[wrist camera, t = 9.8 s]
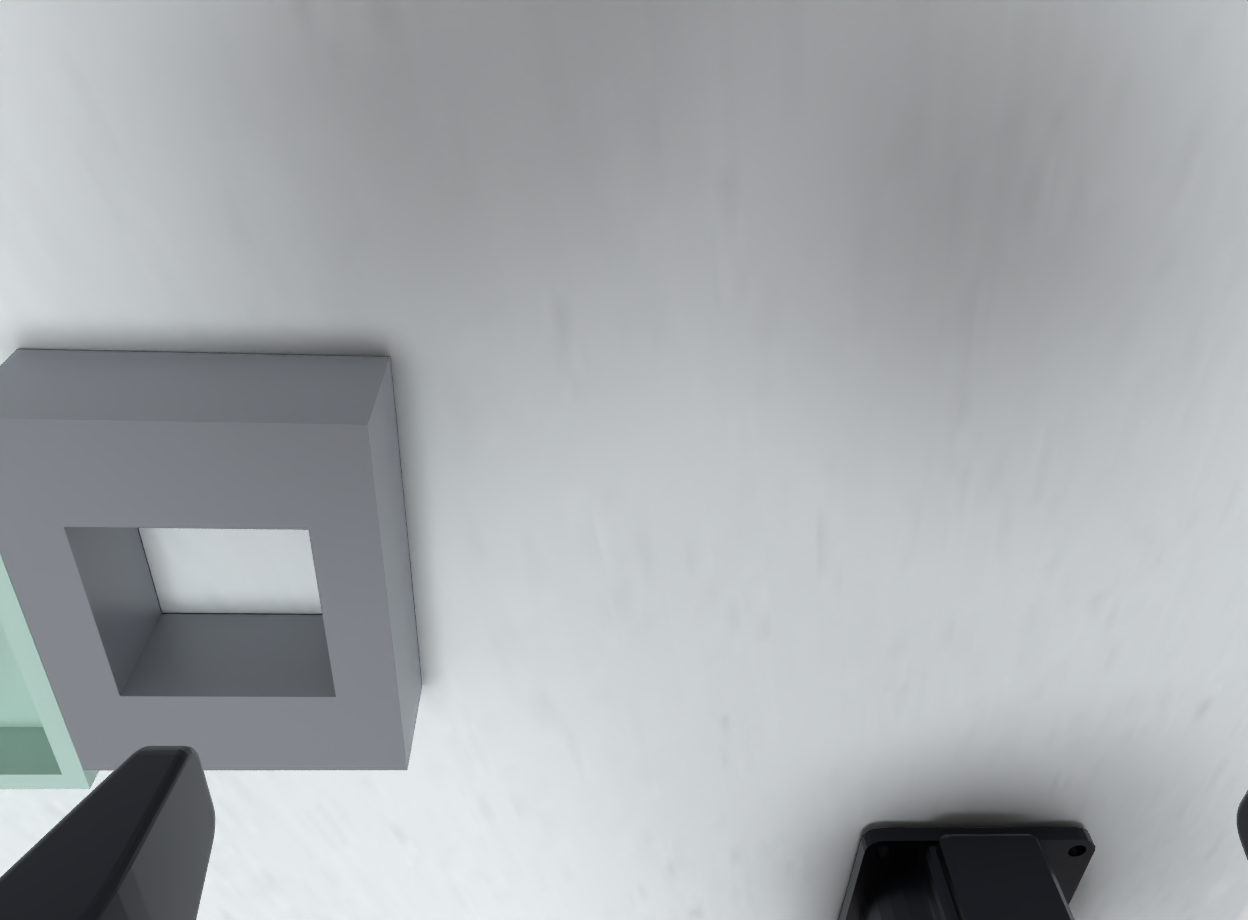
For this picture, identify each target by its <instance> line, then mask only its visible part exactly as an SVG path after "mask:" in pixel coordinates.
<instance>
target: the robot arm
mask: <svg viewBox="0 0 1248 920" xmlns="http://www.w3.org/2000/svg"><path fill="white" fill-rule="evenodd" d="M1237 828H1238V834H1239V837H1240V840H1241V843H1242V846H1243V848H1244V851H1245V854H1246V857H1247V859H1248V791H1247V792H1246V794H1245V796H1244V798H1243V799H1242V801H1241V803H1240V805H1239V807H1238V812H1237ZM214 832H215V811H214V807H213V803H212V799H211V796H210V792H209V789H208V785H207V782H206V778H205V775H204V771H203V767H202V764H201V760H200V757H199V755H198V753H197V752H196V751H195V749H193V748H192V747H189V746H146V747H143V748H141V749H139V750H137V751H135V752H134V753H133V754H132V755H130V756H129V757H128V758H127V759H126V760H125V761H124V762H123V763H122V764H121V765H120V766H119V767H118V768H116V769H115V770H114V771H113V772H112V773H111V774H110V775H109V776H108V777H107V778H106V779H105V780H104V781H103V782H102V783H101V784H99V785H98V786H97V787H96V788H95V789H94V790H93V791H92V792H91V793H90V794H89V795H88V796H87V797H86V798H85V799H83V800H82V801H81V802H80V803H79V804H78V805H77V806H76V807H75V808H74V809H73V810H72V811H71V812H70V813H69V814H68V815H66V816H65V817H64V818H63V819H62V820H61V821H60V822H59V823H58V824H57V825H56V826H55V827H54V828H53V829H52V830H50V831H49V832H48V833H47V834H46V835H45V836H44V837H43V838H42V839H41V840H40V841H39V842H38V843H37V844H36V845H34V846H33V847H32V848H31V849H30V850H29V851H28V852H27V853H26V854H25V855H24V856H23V857H22V858H21V859H20V860H19V861H17V862H16V863H15V864H14V865H13V866H12V867H11V868H10V869H9V870H8V871H7V872H6V873H5V874H4V875H3V876H1V877H0V920H196V918H197V913H198V908H199V904H200V899H201V895H202V890H203V886H204V881H205V876H206V872H207V867H208V863H209V858H210V853H211V849H212V844H213V839H214ZM1094 851H1095V845H1094V843H1093V841H1092V839H1091V837H1090V835H1089V833H1088V831H1087V830H1085V829H1083V828H1077V827H1042V828H879V829H874V830H871V831H869V832H867V833H866V834H865V835H863V837H862V839H861V842H860V845H859V849H858V852H857V856H856V860H855V863H854V867H853V871H852V874H851V878H850V882H849V885H848V889H847V893H846V896H845V900H844V904H843V907H842V911H841V914H840V918H839V920H1074V918H1073V915H1072V913H1071V911H1070V908H1069V906H1068V905H1069V903H1070V901H1071V899H1072V896H1073V894H1074V892H1075V890H1076V888H1077V886H1078V884H1079V882H1080V880H1081V878H1082V876H1083V874H1084V872H1085V870H1086V867H1087V865H1088V863H1089V861H1090V859H1091V857H1092V855H1093V853H1094Z"/></svg>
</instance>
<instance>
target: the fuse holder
mask: <svg viewBox="0 0 1248 920" xmlns="http://www.w3.org/2000/svg"><path fill="white" fill-rule="evenodd" d="M138 528H214V529H303V530H309V535H310V541H311V548H312V554H313V560H314V566H315V572H316V578H317V584H318V590H319V596H320V602H321V609H322V615H246V614H161V610H160V607H159V603H158V600H157V596H156V592H155V589H154V585H153V582H152V578H151V575H150V571H149V568H148V564H147V560H146V557H145V553H144V550H143V546H142V543H141V539H140V536H139V532H138ZM0 553H1V556H2V558H3V561H4V564H5V566H6V569H7V571H8V574H9V577H10V579H11V582H12V585H13V587H14V590H15V592H16V595H17V598H18V600H19V603H20V605H21V608H22V611H23V613H24V616H25V619H26V621H27V624H28V626H29V629H30V632H31V634H32V637H33V639H34V642H35V645H36V647H37V650H38V653H39V655H40V658H41V660H42V663H43V666H44V668H45V671H46V674H47V676H48V679H49V681H50V684H51V687H52V689H53V692H54V694H55V697H56V700H57V702H58V705H59V708H60V710H61V713H62V715H63V718H64V721H65V723H66V726H67V729H68V731H69V734H70V736H71V739H72V742H73V744H74V747H75V749H76V752H77V755H78V757H79V760H80V763H81V765H82V768H83V770H115V769H116V768H118V767H119V766H120V765H121V764H122V763H123V762H124V761H125V760H126V759H127V758H128V757H129V756H130V755H132V754H133V753H134V752H135V751H137V750H139V749H141V748H143V747H146V746H189V747H192V748H193V749H195V751H196V752H197V753H198V755H199V757H200V760H201V764H202V767H203V770H407V769H408V763H409V757H410V752H411V746H412V740H413V735H414V729H415V723H416V718H417V712H418V706H419V700H420V695H421V689H422V682H421V672H420V661H419V651H418V640H417V630H416V620H415V609H414V599H413V589H412V578H411V568H410V557H409V547H408V537H407V526H406V516H405V506H404V495H403V485H402V474H401V464H400V454H399V443H398V433H397V423H396V412H395V402H394V391H393V381H392V371H391V360H390V357H376V356H327V355H278V354H229V353H180V352H131V351H82V350H32V349H17V350H16V351H15V352H14V353H13V354H12V355H11V356H10V357H9V358H8V359H7V360H6V361H5V362H4V363H3V364H2V365H1V366H0Z"/></svg>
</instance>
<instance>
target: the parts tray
mask: <svg viewBox="0 0 1248 920" xmlns="http://www.w3.org/2000/svg"><path fill="white" fill-rule="evenodd" d="M98 771H99V770H83V768H82V765H81V763H80V760H79V757H78V755H77V752H76V749H75V747H74V744H73V742H72V739H71V736H70V734H69V731H68V729H67V726H66V723H65V721H64V718H63V715H62V713H61V710H60V708H59V705H58V702H57V700H56V697H55V694H54V692H53V689H52V687H51V684H50V681H49V679H48V676H47V674H46V671H45V668H44V666H43V663H42V660H41V658H40V655H39V653H38V650H37V647H36V645H35V642H34V639H33V637H32V634H31V632H30V629H29V626H28V624H27V621H26V619H25V616H24V613H23V611H22V608H21V605H20V603H19V600H18V598H17V595H16V592H15V590H14V587H13V585H12V582H11V579H10V577H9V574H8V571H7V569H6V566H5V564H4V561H3V558H2V556H1V553H0V789H90V788H91V786H92V784H93V782H94V779H95V777H96V775H97V773H98Z"/></svg>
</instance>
